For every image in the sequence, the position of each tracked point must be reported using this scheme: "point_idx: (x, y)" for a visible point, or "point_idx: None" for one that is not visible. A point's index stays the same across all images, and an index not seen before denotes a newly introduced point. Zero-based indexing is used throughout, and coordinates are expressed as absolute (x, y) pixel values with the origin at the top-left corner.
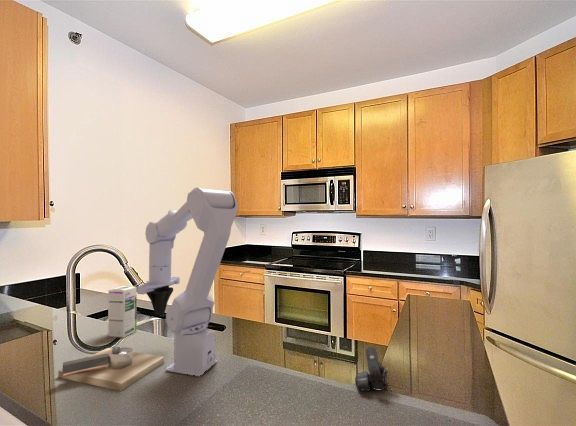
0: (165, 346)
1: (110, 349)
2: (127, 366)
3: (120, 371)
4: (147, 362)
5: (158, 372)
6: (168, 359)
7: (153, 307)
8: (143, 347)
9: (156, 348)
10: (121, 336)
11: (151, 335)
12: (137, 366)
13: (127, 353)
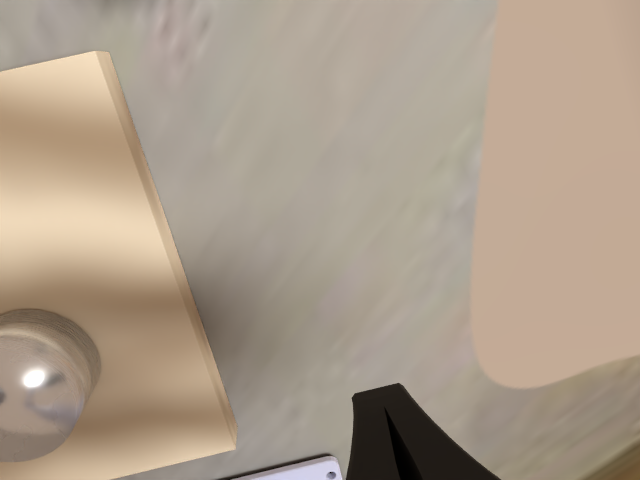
0: (381, 272)
1: (94, 98)
2: None
3: None
4: (147, 438)
5: (167, 473)
6: (275, 411)
7: (350, 454)
8: (305, 170)
9: (335, 252)
10: None
11: (481, 18)
12: (91, 437)
13: (21, 456)
